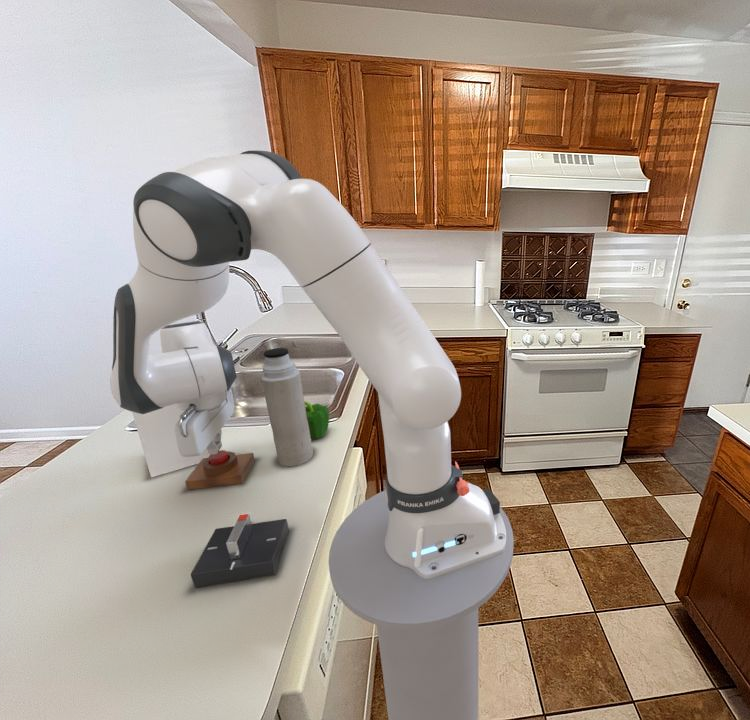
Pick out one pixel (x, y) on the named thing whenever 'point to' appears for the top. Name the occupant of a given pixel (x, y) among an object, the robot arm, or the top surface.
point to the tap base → (255, 558)
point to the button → (219, 457)
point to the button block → (221, 472)
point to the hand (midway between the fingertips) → (215, 450)
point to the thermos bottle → (286, 408)
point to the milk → (162, 441)
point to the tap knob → (239, 536)
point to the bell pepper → (317, 420)
